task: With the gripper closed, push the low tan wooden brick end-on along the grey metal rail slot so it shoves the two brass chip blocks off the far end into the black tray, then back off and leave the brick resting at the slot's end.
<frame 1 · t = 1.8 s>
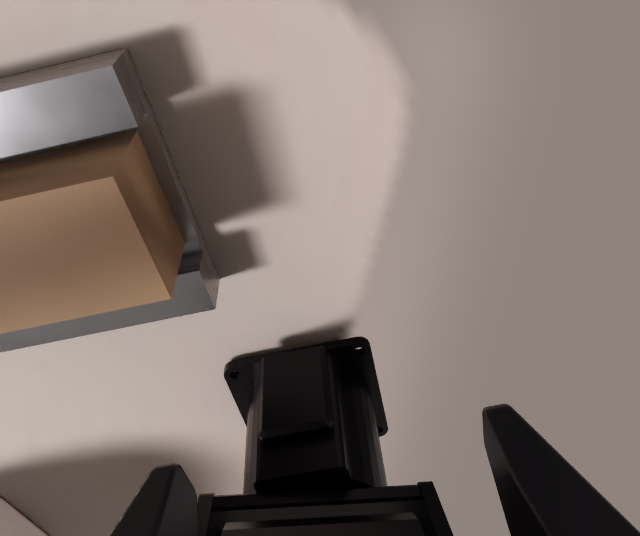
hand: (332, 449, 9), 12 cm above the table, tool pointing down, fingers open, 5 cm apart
tan wooden brick: (65, 211, 19), point 1 cm above the table, touching rail bed
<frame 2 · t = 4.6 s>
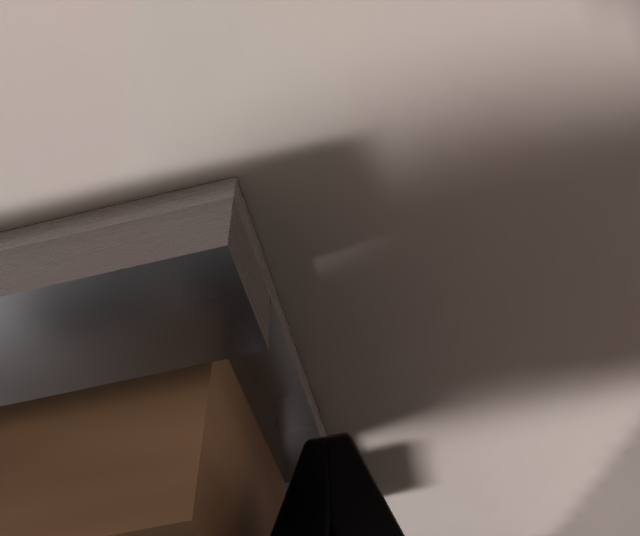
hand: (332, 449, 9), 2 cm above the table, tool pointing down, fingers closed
tan wooden brick: (77, 452, 11), point 1 cm above the table, touching gripper, rail bed
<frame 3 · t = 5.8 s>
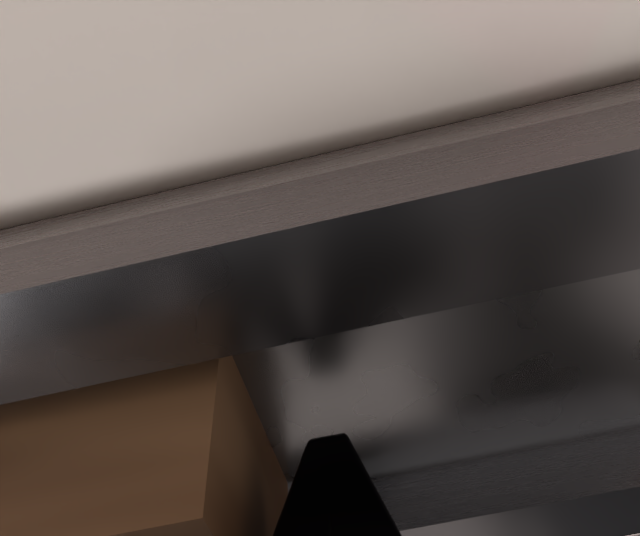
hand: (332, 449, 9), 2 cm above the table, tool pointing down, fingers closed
rail bed: (227, 396, 11), on the table
tan wooden brick: (80, 452, 11), point 1 cm above the table, touching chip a, gripper, rail bed
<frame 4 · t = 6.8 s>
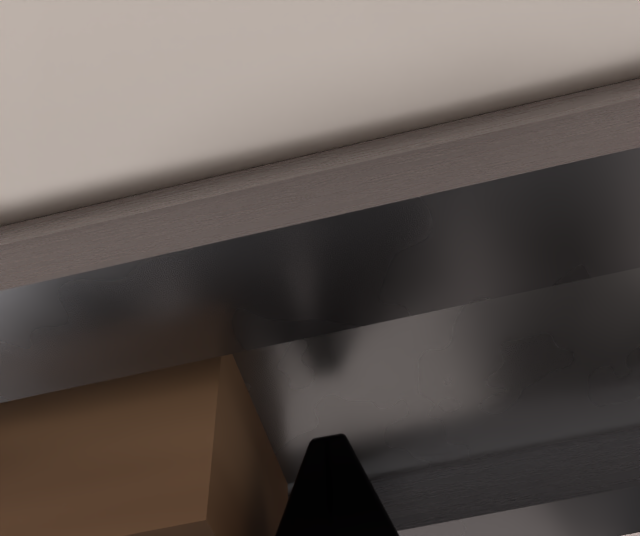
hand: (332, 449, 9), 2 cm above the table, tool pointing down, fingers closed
rail bed: (352, 369, 11), on the table
tan wooden brick: (79, 453, 11), point 1 cm above the table, touching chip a, gripper, rail bed
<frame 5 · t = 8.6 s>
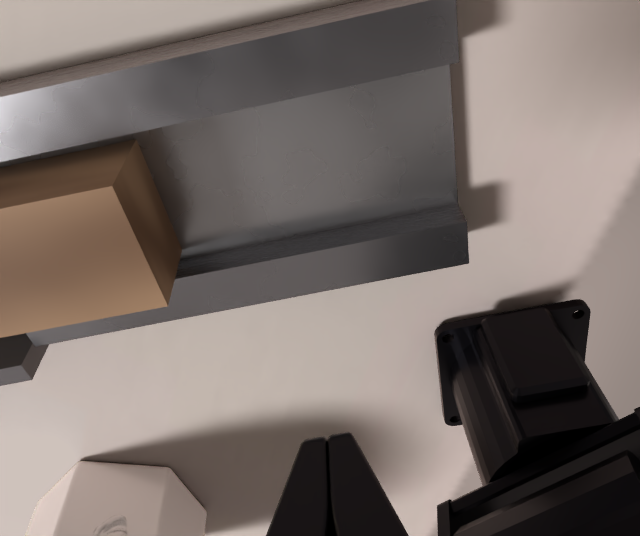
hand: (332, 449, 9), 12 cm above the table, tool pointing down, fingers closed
rail bed: (213, 176, 19), on the table
tan wooden brick: (63, 217, 19), point 1 cm above the table, touching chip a, rail bed
jar: (125, 501, 31), on the table
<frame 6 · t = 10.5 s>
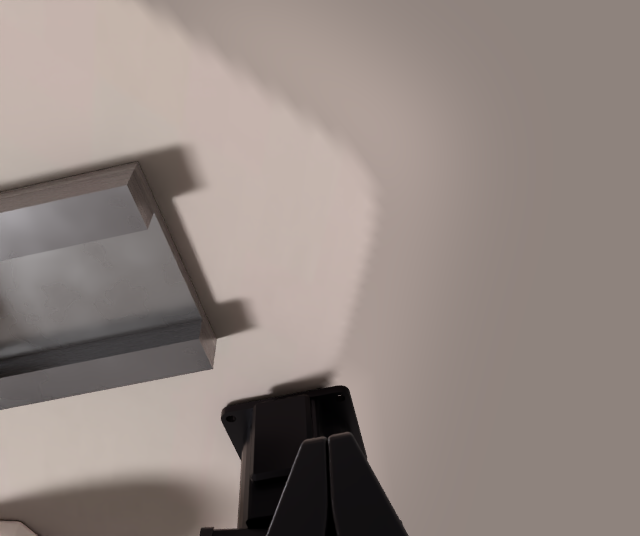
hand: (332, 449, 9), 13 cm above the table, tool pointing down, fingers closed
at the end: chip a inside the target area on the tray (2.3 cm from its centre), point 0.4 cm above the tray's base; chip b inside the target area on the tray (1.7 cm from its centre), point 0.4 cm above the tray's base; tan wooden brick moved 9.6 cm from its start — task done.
